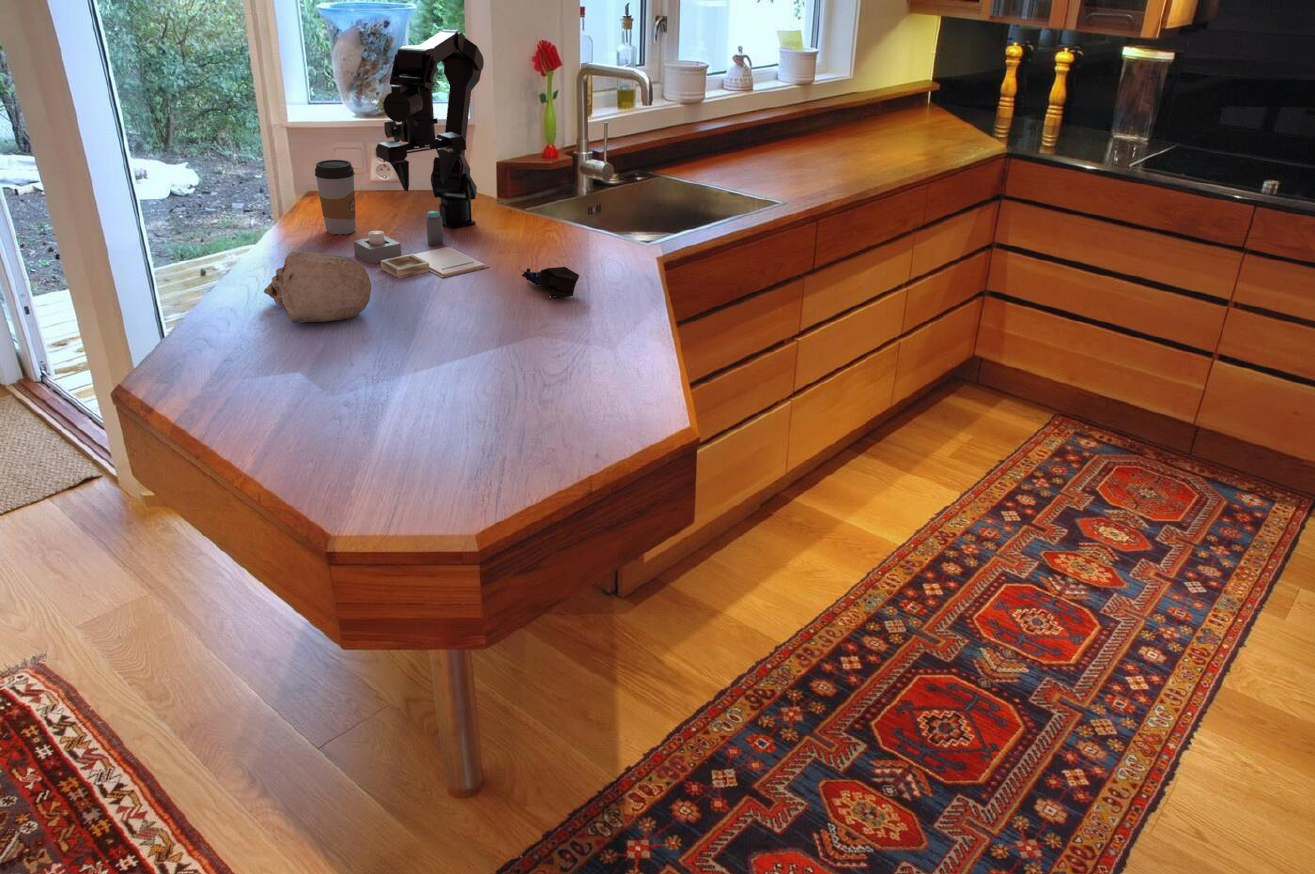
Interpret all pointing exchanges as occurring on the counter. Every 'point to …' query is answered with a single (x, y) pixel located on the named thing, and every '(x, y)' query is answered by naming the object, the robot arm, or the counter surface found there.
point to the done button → (376, 238)
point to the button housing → (377, 250)
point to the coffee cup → (337, 195)
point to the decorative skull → (320, 287)
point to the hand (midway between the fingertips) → (425, 187)
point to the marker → (434, 228)
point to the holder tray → (405, 266)
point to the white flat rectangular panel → (449, 262)
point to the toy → (554, 280)
